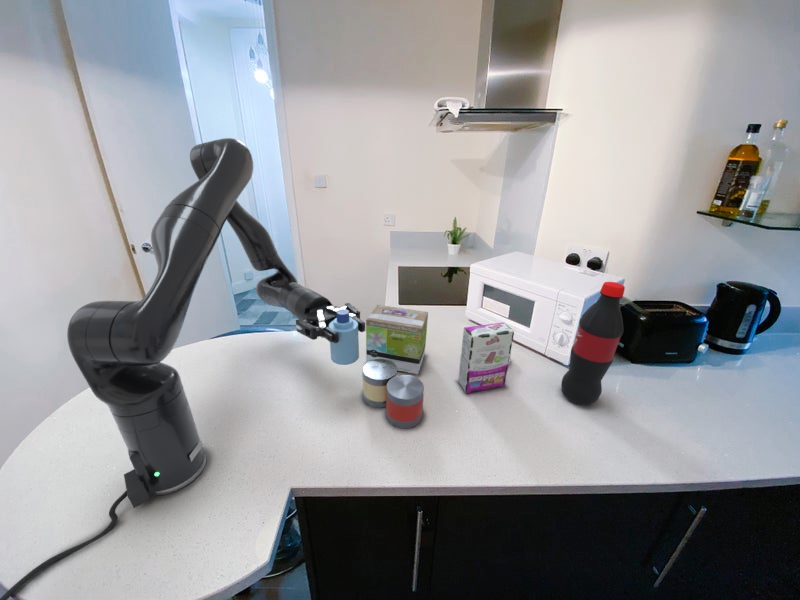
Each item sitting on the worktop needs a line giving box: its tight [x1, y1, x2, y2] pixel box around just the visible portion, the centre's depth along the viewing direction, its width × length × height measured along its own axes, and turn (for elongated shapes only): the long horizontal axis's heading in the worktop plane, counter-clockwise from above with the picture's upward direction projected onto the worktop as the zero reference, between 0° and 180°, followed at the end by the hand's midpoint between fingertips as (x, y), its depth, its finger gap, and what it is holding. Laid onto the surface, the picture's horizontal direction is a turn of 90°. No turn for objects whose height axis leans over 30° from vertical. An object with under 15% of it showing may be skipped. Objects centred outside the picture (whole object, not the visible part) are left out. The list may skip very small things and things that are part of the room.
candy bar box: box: [457, 321, 515, 394], centre depth 78 cm, size 11×5×16 cm, turn 105°
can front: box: [385, 374, 425, 429], centre depth 69 cm, size 8×8×8 cm
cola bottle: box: [560, 281, 626, 406], centre depth 72 cm, size 8×8×30 cm
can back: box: [362, 359, 398, 409], centre depth 75 cm, size 8×8×8 cm
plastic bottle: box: [329, 309, 360, 366], centre depth 66 cm, size 6×6×11 cm
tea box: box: [365, 304, 429, 375], centre depth 87 cm, size 15×10×15 cm
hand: (350, 333), depth 64 cm, fingers closed on plastic bottle, 6 cm apart
